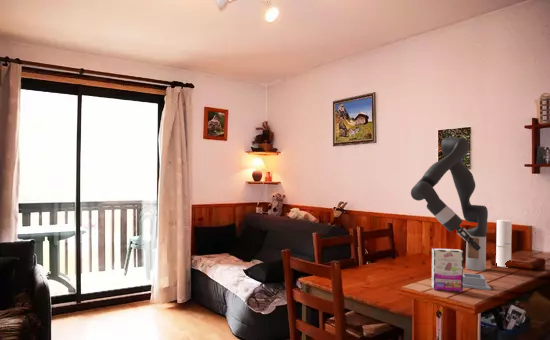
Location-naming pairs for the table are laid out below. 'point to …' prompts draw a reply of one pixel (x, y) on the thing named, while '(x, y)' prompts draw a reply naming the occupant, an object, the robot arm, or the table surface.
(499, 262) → the cylindrical container
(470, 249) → the walnut block
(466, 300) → the table surface
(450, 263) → the candy bar box
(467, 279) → the socket stand
